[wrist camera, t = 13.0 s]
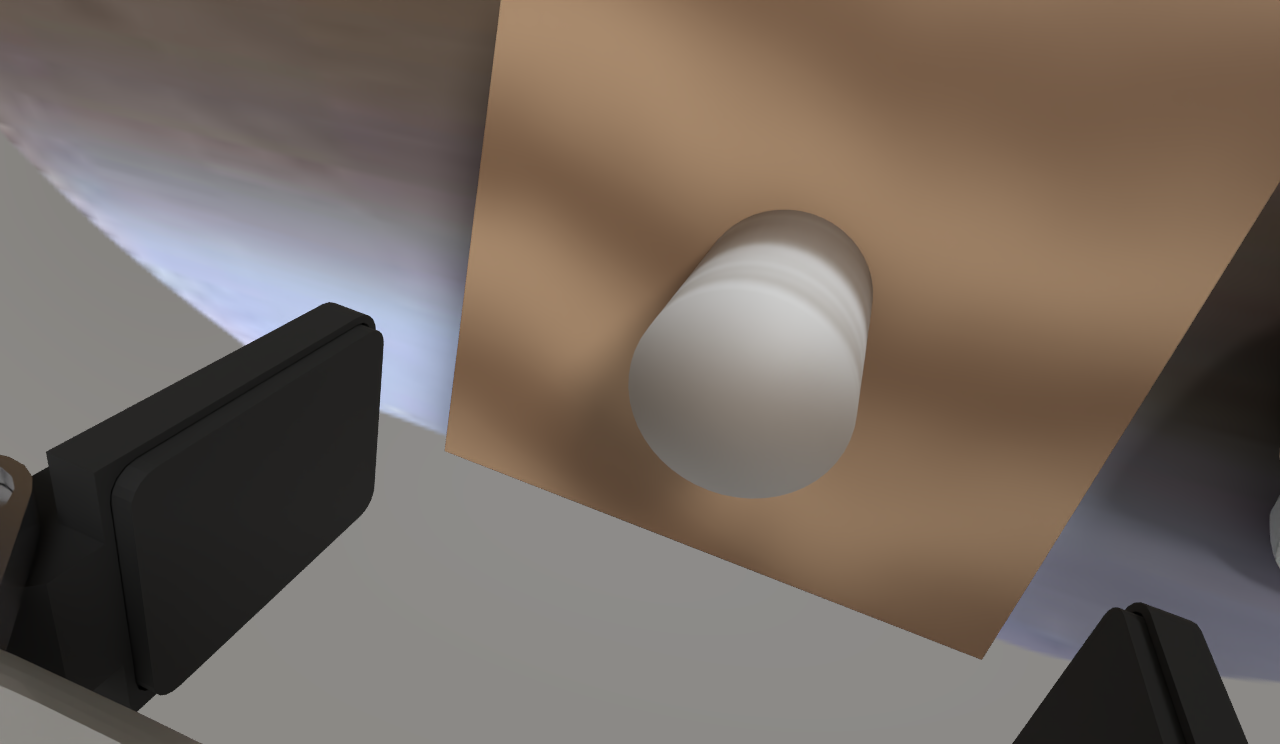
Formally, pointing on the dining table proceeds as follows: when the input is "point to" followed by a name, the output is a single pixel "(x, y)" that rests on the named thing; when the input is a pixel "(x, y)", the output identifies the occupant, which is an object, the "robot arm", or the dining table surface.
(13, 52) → the dining table surface
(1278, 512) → the ceramic mug
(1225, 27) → the walnut lid
